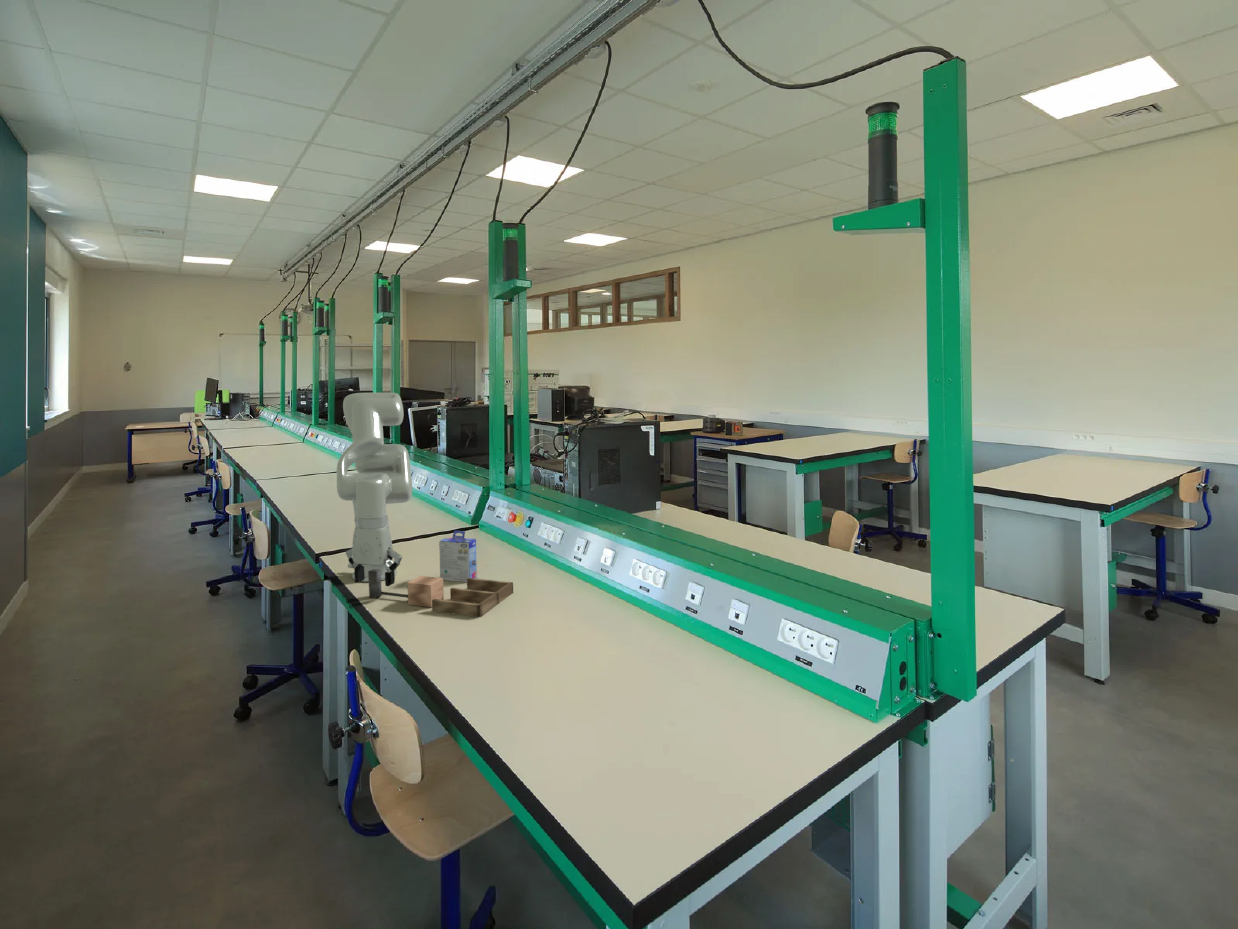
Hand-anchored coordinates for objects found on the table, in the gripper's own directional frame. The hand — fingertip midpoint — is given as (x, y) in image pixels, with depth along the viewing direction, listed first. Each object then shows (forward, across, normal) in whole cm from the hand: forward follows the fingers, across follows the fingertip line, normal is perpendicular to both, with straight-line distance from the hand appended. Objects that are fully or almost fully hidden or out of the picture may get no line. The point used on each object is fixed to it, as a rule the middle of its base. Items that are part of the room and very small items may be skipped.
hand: (374, 583), depth 172 cm
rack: (+4, +28, +4) cm, 29 cm away
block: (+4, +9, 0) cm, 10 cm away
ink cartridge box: (+4, +14, +20) cm, 25 cm away
